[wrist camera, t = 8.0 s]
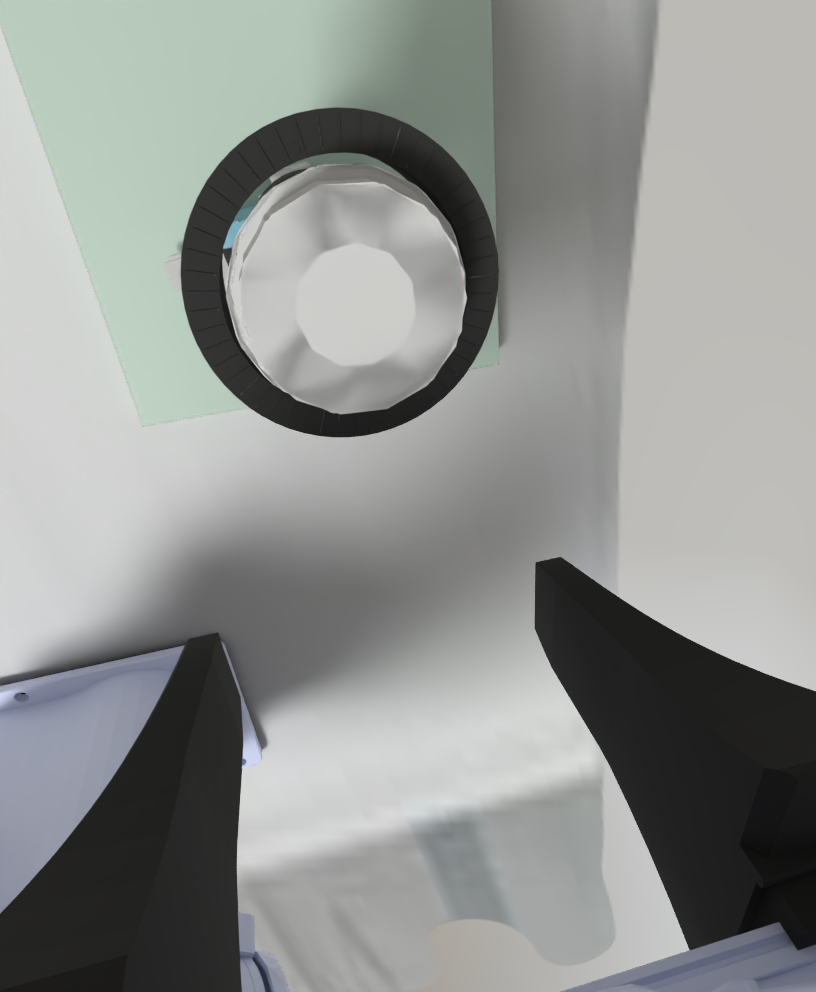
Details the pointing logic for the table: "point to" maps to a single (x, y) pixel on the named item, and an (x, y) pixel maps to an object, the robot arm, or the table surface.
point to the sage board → (224, 132)
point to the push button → (338, 273)
